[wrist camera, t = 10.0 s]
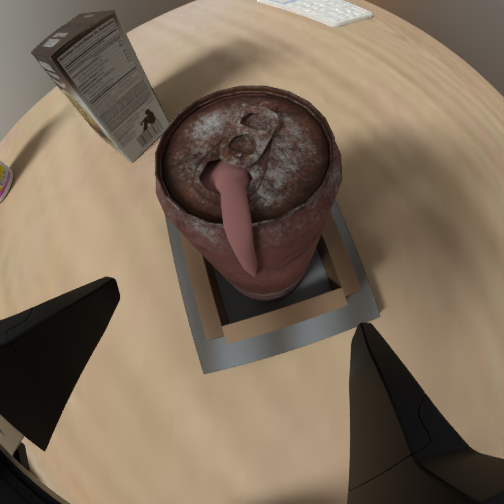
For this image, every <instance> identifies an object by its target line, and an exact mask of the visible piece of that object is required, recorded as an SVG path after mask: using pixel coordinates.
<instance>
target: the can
mask: <svg viewBox="0 0 504 504" xmlns="http://www.w3.org/2000/svg"><path fill="white" fill-rule="evenodd" d="M155 176H156V194H157V197H158V199H159V202H160V204H161V206H162V209H163V211H164V213H165V216H166V217H167V218H168V219H169V220H170V221H171V222H172V224H173V225H174V226H175V227H176V228H177V229H178V230H179V231H180V232H181V233H182V234H183V235H184V236H185V237H186V238H187V239H188V240H189V241H190V243H191V244H192V245H193V246H194V247H195V248H196V249H197V250H198V251H199V252H200V253H201V254H202V255H203V256H204V257H205V258H206V259H207V260H208V261H209V262H210V263H211V264H212V265H213V266H214V267H215V268H216V269H217V270H218V271H219V272H220V273H221V274H222V275H223V276H224V278H225V279H226V280H227V281H228V282H229V283H230V284H231V285H232V286H234V287H235V288H236V289H237V290H238V291H239V292H240V293H241V294H242V295H244V296H246V297H249V298H251V299H253V300H258V301H267V302H268V301H272V300H277V299H281V298H283V297H285V296H286V295H288V294H290V293H292V292H293V291H294V290H295V289H296V287H297V286H298V285H299V284H300V283H301V281H302V279H303V277H304V275H305V272H306V270H307V268H308V265H309V263H310V260H311V258H312V256H313V253H314V251H315V248H316V246H317V243H318V241H319V238H320V236H321V233H322V231H323V228H324V226H325V223H326V221H327V218H328V216H329V213H330V210H331V208H332V205H333V203H334V200H335V197H336V194H337V192H338V189H339V186H340V184H341V181H342V164H341V153H340V151H339V149H338V147H337V144H336V142H335V137H334V135H333V133H332V130H331V128H330V126H329V124H328V122H327V120H326V118H325V117H324V116H323V115H322V114H321V113H320V112H319V111H318V110H317V109H316V108H315V107H314V106H313V105H312V104H311V103H310V102H308V101H307V100H305V99H303V98H301V97H299V96H297V95H295V94H293V93H291V92H289V91H286V90H282V89H277V88H273V87H269V86H237V87H233V88H228V89H223V90H219V91H216V92H214V93H211V94H209V95H207V96H205V97H202V98H200V99H198V100H196V101H195V102H193V103H192V104H191V105H189V106H188V107H187V108H185V109H184V110H183V111H181V112H180V113H179V114H178V115H177V116H176V117H175V118H174V119H173V121H172V122H171V123H170V124H169V126H168V127H167V128H166V130H165V131H164V132H163V134H162V137H161V139H160V142H159V144H158V147H157V150H156V152H155Z"/></svg>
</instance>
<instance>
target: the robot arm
mask: <svg viewBox="0 0 504 504" xmlns="http://www.w3.org/2000/svg"><path fill="white" fill-rule="evenodd" d="M119 300H120V293H119V289H118V285H117V282H116V280H115V279H114V278H111V277H103V278H101V279H98V280H96V281H94V282H91V283H89V284H86V285H84V286H81V287H79V288H77V289H74V290H72V291H70V292H67V293H65V294H62V295H60V296H58V297H55V298H53V299H51V300H48V301H46V302H44V303H41V304H39V305H37V306H35V307H32V308H30V309H28V310H25V311H23V312H21V313H18V314H16V315H13V316H11V317H8V318H5V319H3V320H0V504H70V503H69V502H67V501H66V500H64V499H63V498H61V497H60V496H59V495H57V494H56V493H55V492H53V491H52V490H51V489H49V488H48V487H47V486H46V485H44V484H43V483H42V482H41V481H39V480H38V479H37V478H36V477H35V476H33V475H32V474H31V473H30V472H29V470H30V468H29V464H28V459H27V454H26V449H25V445H24V444H23V443H22V442H21V441H22V440H23V438H24V436H25V437H26V438H27V439H29V440H30V441H31V442H32V443H34V444H35V445H36V446H38V447H39V448H40V449H42V450H43V451H45V450H46V449H47V446H48V444H49V441H50V439H51V437H52V434H53V432H54V430H55V427H56V425H57V423H58V421H59V418H60V416H61V414H62V411H63V410H64V407H65V405H66V403H67V401H68V399H69V397H70V395H71V393H72V391H73V389H74V387H75V385H76V383H77V381H78V379H79V377H80V375H81V373H82V372H83V370H84V368H85V366H86V364H87V362H88V360H89V359H90V357H91V355H92V353H93V351H94V350H95V348H96V346H97V344H98V343H99V341H100V339H101V337H102V336H103V334H104V332H105V330H106V328H107V326H108V324H109V322H110V319H111V317H112V315H113V313H114V311H115V309H116V307H117V305H118V303H119ZM349 397H350V467H349V487H348V491H349V492H348V499H347V504H504V459H502V458H497V457H493V456H489V455H485V454H482V453H479V452H477V451H475V450H473V449H472V448H471V447H470V446H469V445H468V444H467V443H466V442H465V441H464V440H463V439H462V437H461V436H460V435H459V434H458V433H457V432H456V430H455V429H454V428H453V427H452V426H451V425H450V424H449V422H448V421H447V420H446V419H445V418H444V416H443V415H442V414H441V413H440V412H439V410H438V409H437V408H436V406H435V405H434V404H433V403H432V401H431V400H430V398H429V397H428V396H427V394H426V393H425V394H424V390H423V389H422V388H421V386H420V385H419V384H418V382H417V381H416V380H415V378H414V377H413V376H412V374H411V373H410V372H409V370H408V369H407V368H406V366H405V365H404V364H403V363H402V361H401V360H400V359H399V357H398V356H397V355H396V354H395V352H394V351H393V350H392V348H391V347H390V346H389V345H388V343H387V342H386V341H385V340H384V338H383V337H382V336H381V335H380V333H379V332H378V331H377V330H376V328H375V327H374V326H373V325H372V324H371V323H364V322H361V323H359V325H358V327H357V329H356V332H355V334H354V336H353V339H352V343H351V360H350V376H349Z"/></svg>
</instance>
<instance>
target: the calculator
mask: <svg viewBox="0 0 504 504" xmlns="http://www.w3.org/2000/svg"><path fill="white" fill-rule="evenodd" d="M257 2H260V3H263V4H267V5H271V6H274V7H278V8H281V9H284V10H288V11H291V12H294V13H297V14H300V15H302V16H305V17H308V18H311V19H313V20H316V21H318V22H321V23H323V24H326V25H328V26H331V27H341V26H345V25H348V24H351V23H355V22H358V21H362V20H366V19H370V18H372V13H371V12H370V11H368V10H365V9H363V8H361V7H358V6H356V5H353V4H351V3H348V2H345V1H343V0H257Z"/></svg>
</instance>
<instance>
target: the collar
mask: <svg viewBox="0 0 504 504" xmlns="http://www.w3.org/2000/svg"><path fill="white" fill-rule="evenodd" d="M165 217H166V216H165ZM166 223H167V228H168V234H169V239H170V244H171V249H172V254H173V258H174V263H175V268H176V272H177V276H178V281H179V285H180V289H181V294H182V298H183V302H184V306H185V310H186V314H187V317H188V321H189V325H190V329H191V332H192V336H193V339H194V343H195V347H196V350H197V353H198V357H199V360H200V363H201V367H202V370H203V373H204V374H207V373H212V372H216V371H220V370H224V369H228V368H232V367H236V366H240V365H244V364H247V363H251V362H255V361H258V360H262V359H265V358H268V357H272V356H275V355H278V354H281V353H285V352H288V351H291V350H294V349H297V348H300V347H303V346H306V345H309V344H312V343H315V342H317V341H320V340H323V339H326V338H329V337H331V336H334V335H337V334H339V333H342V332H344V331H347V330H349V329H352V328H354V327H357V326H358V325H359V323H361V322H364V323H367V322H369V321H371V320H374V319H376V318H378V317H380V313H379V310H378V307H377V304H376V301H375V298H374V296H373V293H372V290H371V287H370V284H369V281H368V279H367V276H366V273H365V271H364V268H363V265H362V263H361V260H360V257H359V255H358V252H357V250H356V247H355V245H354V242H353V240H352V238H351V235H350V233H349V230H348V228H347V226H346V223H345V221H344V219H343V216H342V214H341V212H340V210H339V207H338V205H337V203H336V201H335V200H334V203H333V205H332V208H331V210H330V213H329V216H328V218H327V221H326V223H325V226H324V228H323V231H322V233H321V236H320V238H319V241H318V243H317V246H316V248H315V251H314V253H313V256H312V258H311V260H310V263H309V265H308V268H307V270H306V272H305V275H304V277H303V279H302V281H301V283H300V284H299V285H298V286H297V287H296V289H295V290H294V291H293V292H292V293H290V294H288V295H286V296H285V297H283V298H281V299H277V300H272V301H268V302H267V301H258V300H253V299H251V298H249V297H246V296H244V295H242V294H241V293H240V292H239V291H238V290H237V289H236V288H235V287H234V286H232V285H231V284H230V283H229V282H228V281H227V280H226V279H225V278H224V276H223V275H222V274H221V273H220V272H219V271H218V270H217V269H216V268H215V267H214V266H213V265H212V264H211V263H210V262H209V261H208V260H207V259H206V258H205V257H204V256H203V255H202V254H201V253H200V252H199V251H198V250H197V249H196V248H195V247H194V246H193V245H192V244H191V243H190V241H189V240H188V239H187V238H186V237H185V236H184V235H183V234H182V233H181V232H180V231H179V230H178V229H177V228H176V227H175V226H174V225H173V224H172V222H171V221H170V220H169V219H168V218H167V217H166Z"/></svg>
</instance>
